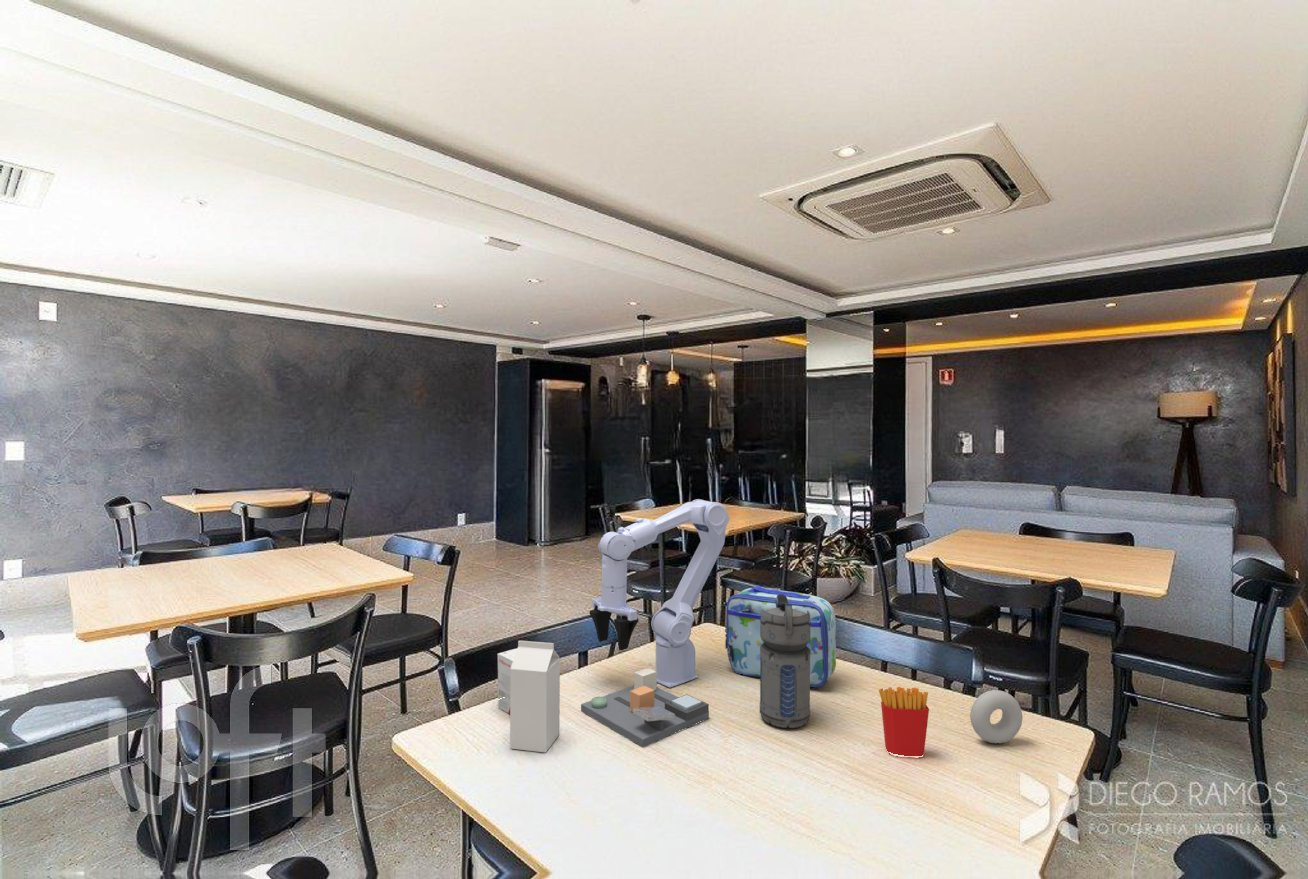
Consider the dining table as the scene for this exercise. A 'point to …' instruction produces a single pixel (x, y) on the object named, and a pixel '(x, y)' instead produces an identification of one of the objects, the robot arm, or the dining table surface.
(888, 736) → the french fries
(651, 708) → the aluminium rocker
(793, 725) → the beverage bottle
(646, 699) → the terracotta slider
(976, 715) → the donut
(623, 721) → the control board
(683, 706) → the grey button
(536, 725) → the milk carton
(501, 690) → the ink box
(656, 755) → the dining table surface
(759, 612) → the lunch box
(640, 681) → the ivory slider
